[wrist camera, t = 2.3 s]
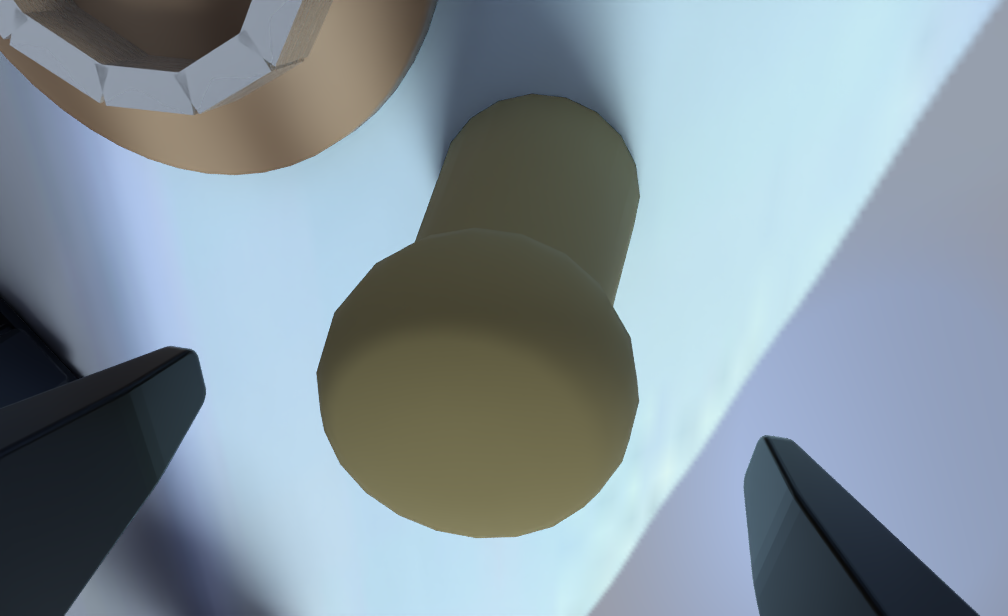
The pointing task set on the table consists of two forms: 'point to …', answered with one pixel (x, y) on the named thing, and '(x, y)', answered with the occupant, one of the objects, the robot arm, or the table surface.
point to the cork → (495, 332)
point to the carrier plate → (267, 110)
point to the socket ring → (156, 79)
